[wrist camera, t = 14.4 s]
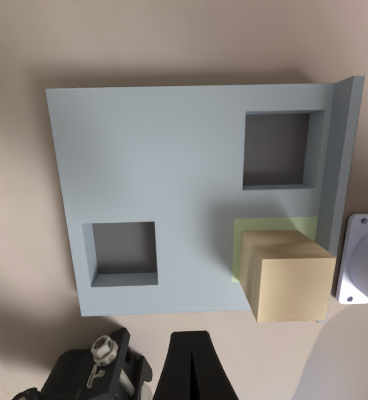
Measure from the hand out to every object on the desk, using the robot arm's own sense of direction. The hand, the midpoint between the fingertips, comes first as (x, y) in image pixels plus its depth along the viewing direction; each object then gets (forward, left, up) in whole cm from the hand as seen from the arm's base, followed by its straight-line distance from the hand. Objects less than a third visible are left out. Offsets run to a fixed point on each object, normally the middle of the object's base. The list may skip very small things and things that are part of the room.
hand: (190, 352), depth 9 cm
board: (-1, -3, -10) cm, 10 cm away
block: (-6, 0, -8) cm, 10 cm away
